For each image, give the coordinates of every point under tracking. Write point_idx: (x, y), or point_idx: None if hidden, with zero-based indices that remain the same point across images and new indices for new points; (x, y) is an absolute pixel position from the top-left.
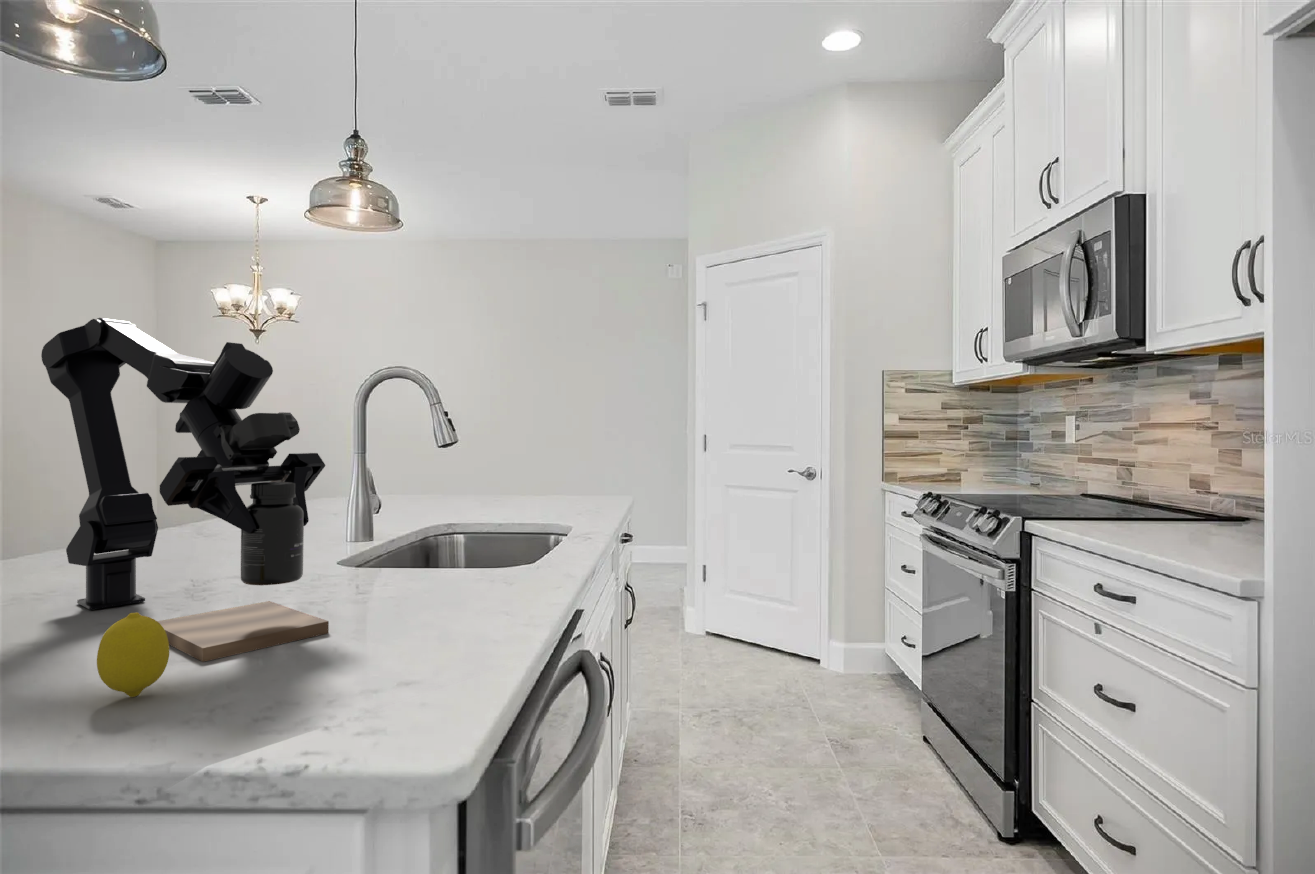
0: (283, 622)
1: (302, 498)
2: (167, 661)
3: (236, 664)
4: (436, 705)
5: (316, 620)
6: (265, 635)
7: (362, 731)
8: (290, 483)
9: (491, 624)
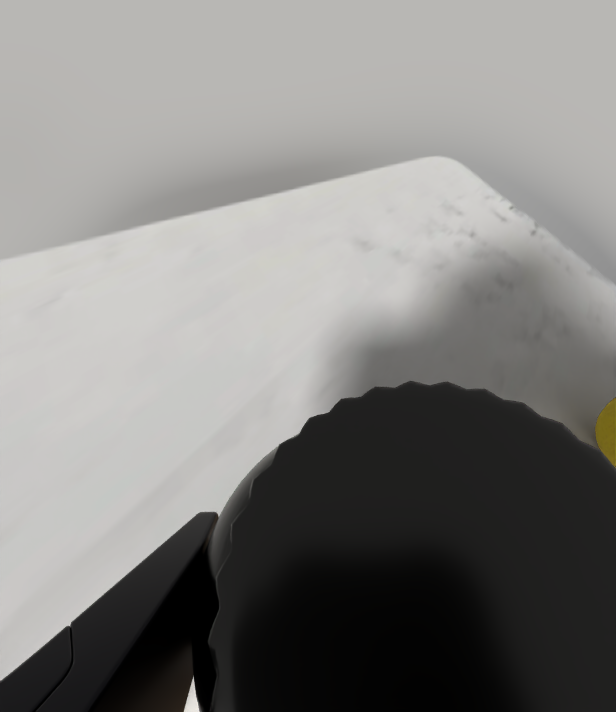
0: None
1: (100, 623)
2: (603, 410)
3: None
4: (385, 202)
5: None
6: None
7: (455, 213)
8: (356, 412)
9: (121, 290)
